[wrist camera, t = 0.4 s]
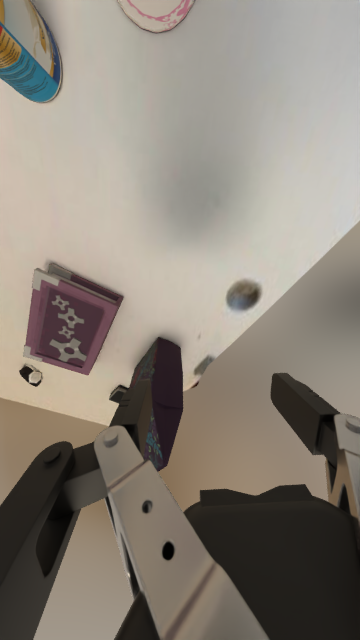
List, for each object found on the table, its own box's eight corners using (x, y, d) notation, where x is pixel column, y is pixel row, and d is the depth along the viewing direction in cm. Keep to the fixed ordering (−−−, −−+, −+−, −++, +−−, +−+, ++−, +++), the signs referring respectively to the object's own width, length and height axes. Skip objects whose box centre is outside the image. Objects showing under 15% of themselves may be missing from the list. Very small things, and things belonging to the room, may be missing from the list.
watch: (47, 380, 56) (40, 390, 53) (33, 381, 56) (25, 391, 53) (34, 363, 52) (25, 373, 49) (19, 365, 52) (9, 374, 49)
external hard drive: (136, 404, 65) (135, 410, 63) (109, 394, 61) (107, 399, 59) (146, 396, 62) (146, 401, 61) (119, 384, 58) (117, 389, 57)
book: (50, 262, 36) (34, 269, 32) (123, 296, 41) (118, 306, 37) (36, 343, 48) (23, 356, 44) (94, 362, 53) (87, 376, 48)
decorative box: (182, 346, 50) (190, 468, 27) (155, 378, 57) (142, 496, 34) (158, 335, 48) (142, 458, 24) (132, 369, 55) (101, 490, 31)
